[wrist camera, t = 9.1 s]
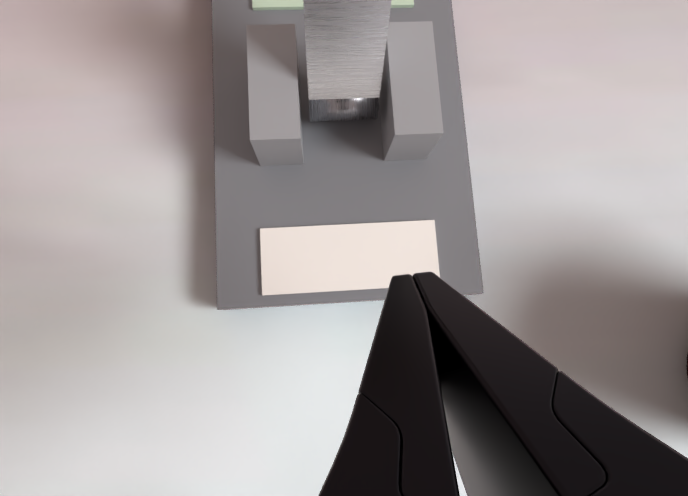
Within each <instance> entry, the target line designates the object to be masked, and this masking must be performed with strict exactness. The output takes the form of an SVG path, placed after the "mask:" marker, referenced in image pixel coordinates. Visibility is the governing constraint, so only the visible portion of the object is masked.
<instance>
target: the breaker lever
mask: <svg viewBox="0 0 688 496" xmlns="http://www.w3.org/2000/svg"><path fill="white" fill-rule="evenodd" d="M391 1H392V0H303V6H304V24H305V42H306V60H307V78H308V96H309V115H310V122H314V121H343V120H373V119H377V117H378V112H379V97H380V89H381V81H382V73H383V65H384V57H385V49H386V41H387V33H388V25H389V17H390V9H391Z"/></svg>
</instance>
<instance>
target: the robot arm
mask: <svg viewBox="0 0 688 496" xmlns="http://www.w3.org/2000/svg"><path fill="white" fill-rule="evenodd" d="M557 372H558V373H557ZM358 393H359V394H358V395H357V398H356V401H355V405H354V408H353V411H352V414H351V417H350V420H349V423H348V426H347V429H346V432H345V435H344V438H343V441H342V443H341V445H340V448H339V450H338V453H337V455H336V458H335V460H334V462H333V465H332V467H331V469H330V472H329V474H328V476H327V478H326V480H325V483H324V485H323V487H322V489H321V491H320V494H319V496H460V495H459V489H458V484H457V478H456V472H455V466H454V461H453V456H454V458H455V461H456V464H457V467H458V470H459V473H460V476H461V479H462V481H463V484H464V487H465V490H466V493H467V496H688V458H686V457H685V456H683V455H682V454H680V453H679V452H677V451H676V450H674V449H672V448H671V447H669V446H668V445H666V444H665V443H663V442H662V441H660V440H659V439H657V438H655V437H654V436H652V435H651V434H649V433H648V432H646V431H645V430H643V429H642V428H640V427H639V426H637V425H636V424H634V423H633V422H631V421H630V420H628V419H627V418H625V417H624V416H622V415H621V414H619V413H618V412H616V411H615V410H613V409H612V408H610V407H609V406H608V405H606V404H605V403H603V402H602V401H601V400H599V399H598V398H597V397H595V396H594V395H593V394H591V393H590V392H588V391H587V390H586V389H584V388H583V387H582V386H580V385H579V384H578V383H576V382H575V381H574V380H572V379H571V378H570V377H569V376H567V375H566V374H565V373H563V372H562V371H558V369H557V367H555V366H554V365H553V364H551V363H550V362H549V361H548V360H546V359H545V358H544V357H542V356H541V355H540V354H538V353H537V352H536V351H535V350H533V349H532V348H531V347H529V346H528V345H527V344H525V343H524V342H523V341H522V340H520V339H519V338H518V337H516V336H515V335H514V334H512V333H511V332H510V331H509V330H507V329H506V328H505V327H503V326H502V325H501V324H500V323H498V322H497V321H496V320H494V319H493V318H492V317H490V316H489V315H488V314H487V313H485V312H484V311H483V310H481V309H480V308H479V307H477V306H476V305H475V304H474V303H472V302H471V301H470V300H468V299H467V298H466V297H464V296H463V295H462V294H461V293H459V292H458V291H457V290H455V289H454V288H453V287H451V286H450V285H449V284H448V283H446V282H445V281H444V280H442V279H441V278H440V277H438V276H437V275H436V274H435V273H433V272H421V273H414V274H413V276H412V275H410V274H404V275H395V276H393V277H392V278H391V281H390V284H389V288H388V291H387V295H386V298H385V302H384V305H383V309H382V312H381V316H380V319H379V322H378V326H377V329H376V333H375V336H374V340H373V343H372V347H371V350H370V354H369V357H368V361H367V364H366V367H365V371H364V374H363V378H362V381H361V385H360V388H359V392H358ZM452 453H453V455H452Z"/></svg>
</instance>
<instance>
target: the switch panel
mask: <svg viewBox="0 0 688 496" xmlns="http://www.w3.org/2000/svg"><path fill="white" fill-rule="evenodd" d="M212 44H213V99H214V154H215V210H216V265H217V310H230V309H246V308H262V307H279V306H295V305H311V304H327V303H344V302H360V301H376V300H385V298H386V295H387V291H388V288H389V284H390V281H391V278H392V277H393V276H395V275H404V274H410V275H412V276H413V274H414V273H421V272H433V273H435V274H436V275H437V276H438V277H440V278H441V279H442V280H444V281H445V282H446V283H448V284H449V285H450V286H451V287H453V288H454V289H455V290H457V291H458V292H459V293H461V294H462V295H473V294H482V293H483V285H482V276H481V267H480V258H479V249H478V239H477V230H476V221H475V212H474V203H473V194H472V185H471V175H470V166H469V157H468V148H467V139H466V130H465V121H464V111H463V102H462V93H461V84H460V75H459V66H458V57H457V47H456V38H455V29H454V20H453V11H452V2H451V0H392V1H391V9H390V17H389V25H388V33H387V41H386V49H385V57H384V65H383V73H382V81H381V89H380V97H379V112H378V117H377V119H373V120H343V121H314V122H310V115H309V96H308V78H307V60H306V42H305V24H304V6H303V0H212Z"/></svg>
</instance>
